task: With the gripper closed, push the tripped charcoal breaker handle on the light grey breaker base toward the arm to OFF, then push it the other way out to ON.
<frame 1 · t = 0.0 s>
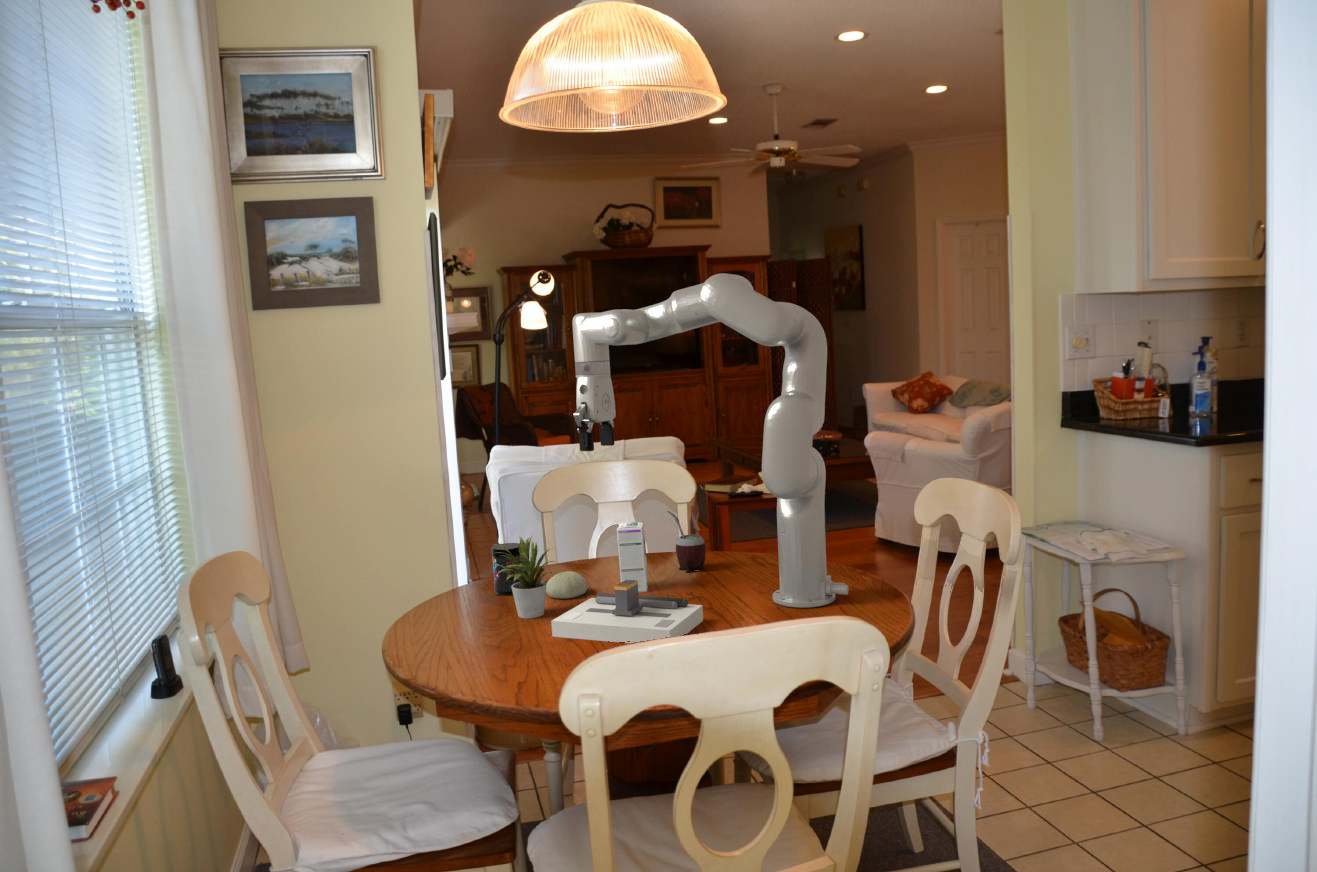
hand: (597, 448, 204), 31 cm above the table, tool pointing down, fingers open, 9 cm apart
syrup box: (634, 590, 204), on the table
breaker base: (628, 628, 176), on the table
mate gourd: (690, 571, 218), on the table
house plant: (526, 614, 190), on the table
breaker handle: (626, 597, 175), point 6 cm above the table, slide at 0.0 cm
sea urchin shell: (567, 595, 203), on the table
supplement container: (510, 592, 208), on the table
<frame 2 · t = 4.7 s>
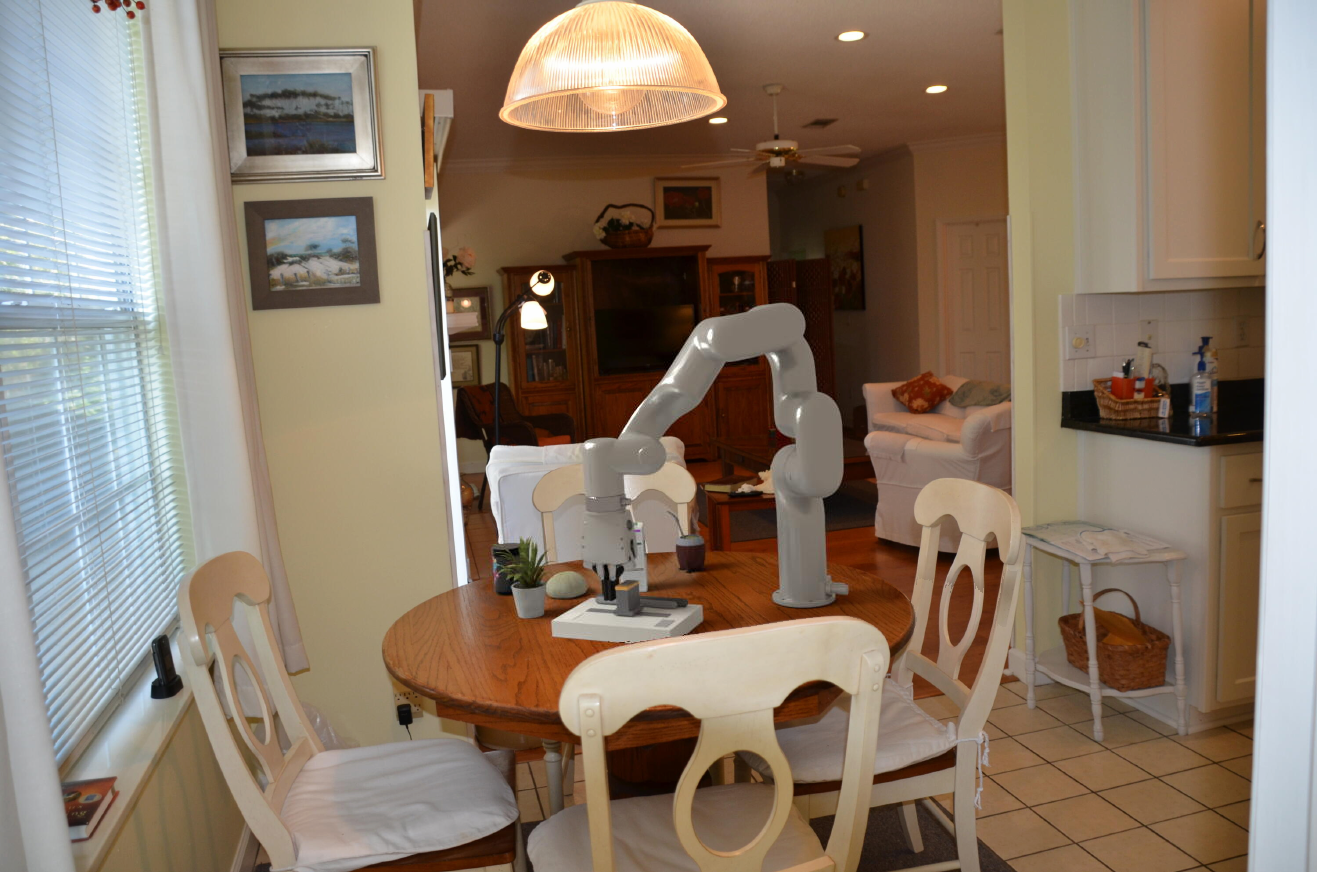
hand: (611, 598, 177), 5 cm above the table, tool pointing down, fingers closed
breaker handle: (628, 597, 175), point 6 cm above the table, slide at -0.2 cm, touching gripper
everything else where it was.
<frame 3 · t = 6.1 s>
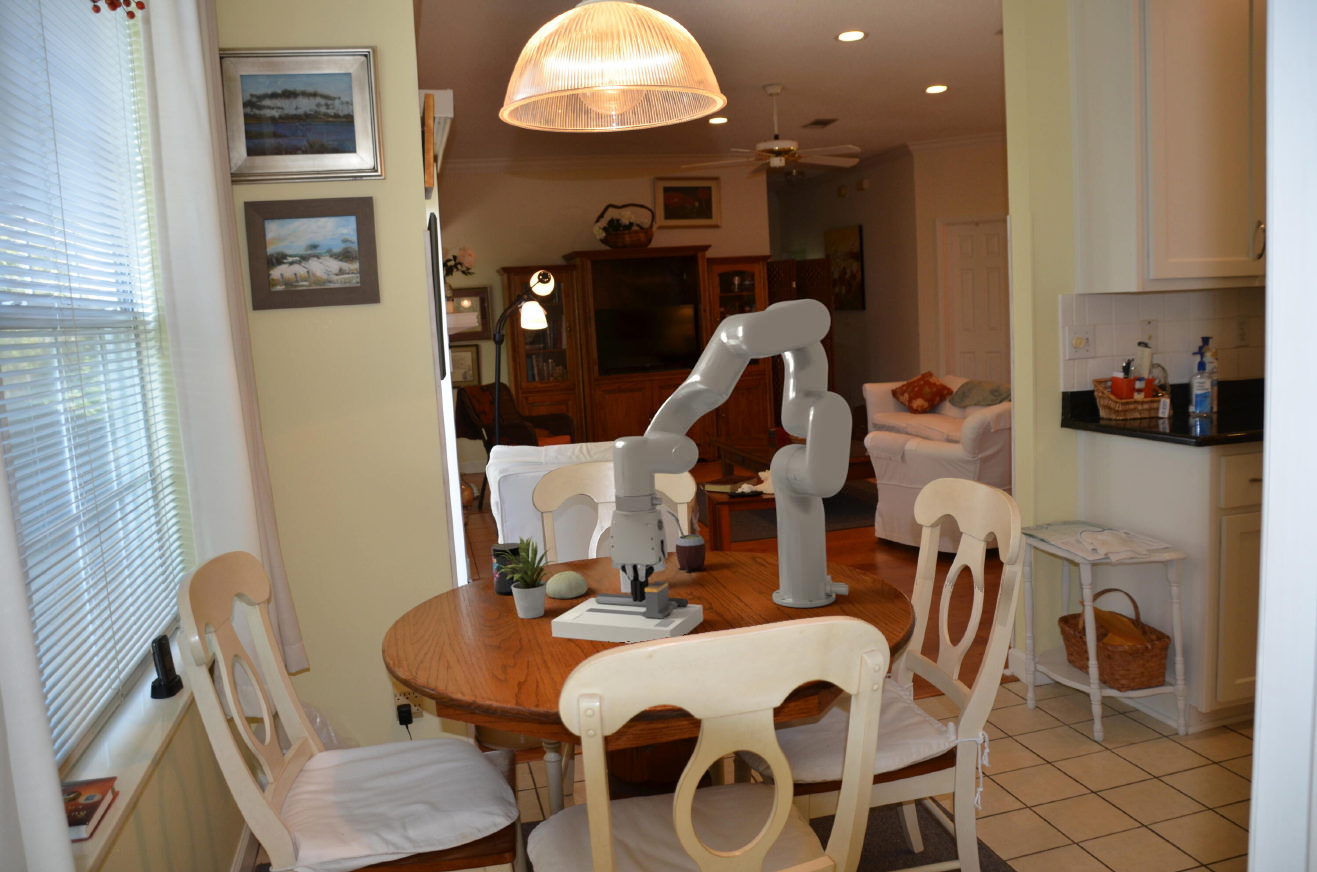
hand: (640, 599, 174), 6 cm above the table, tool pointing down, fingers closed
breaker handle: (657, 599, 173), point 6 cm above the table, slide at -6.3 cm, touching gripper
everything else where it was.
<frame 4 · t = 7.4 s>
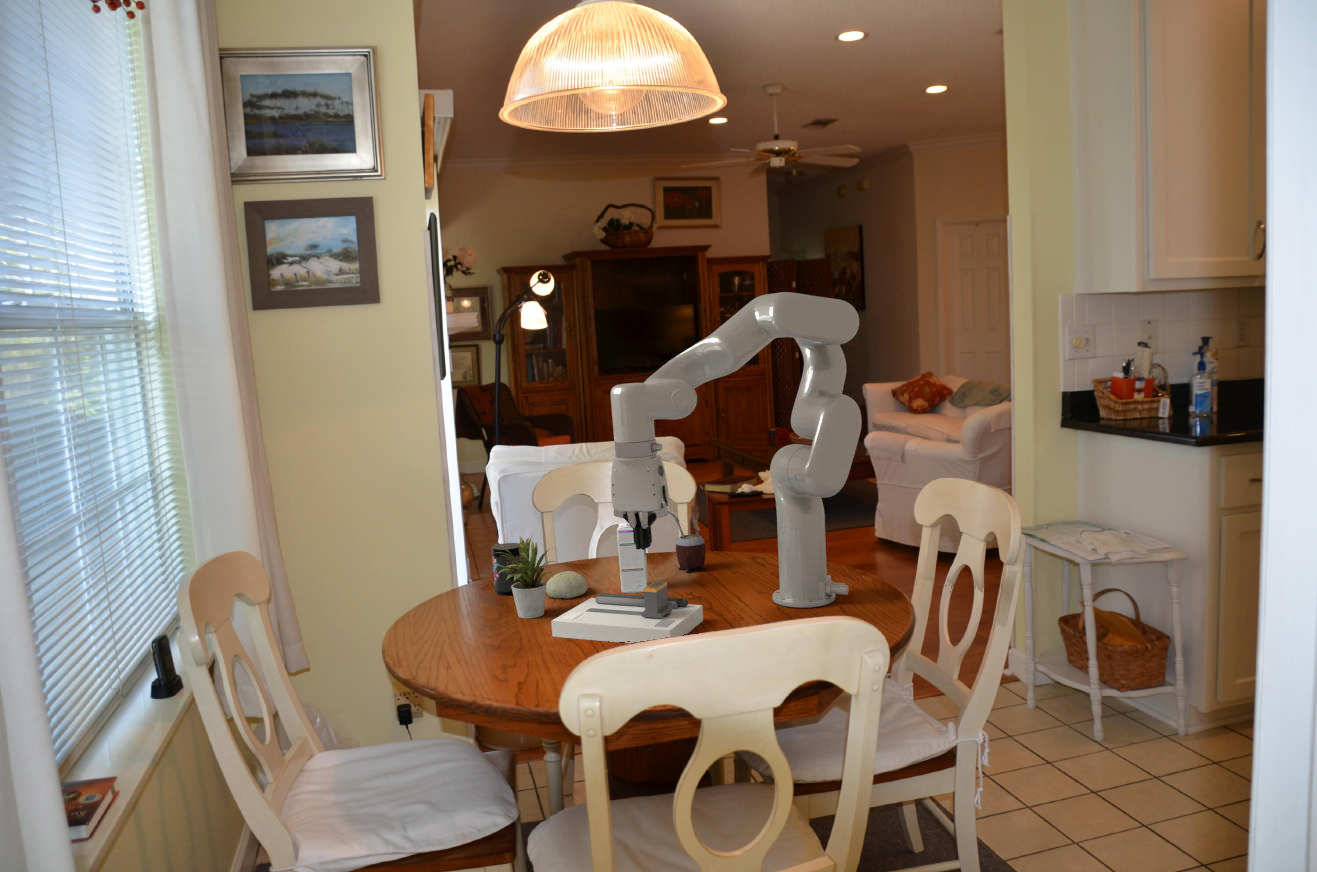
hand: (643, 547, 173), 16 cm above the table, tool pointing down, fingers closed
breaker handle: (656, 599, 173), point 6 cm above the table, slide at -6.0 cm
everything else where it was.
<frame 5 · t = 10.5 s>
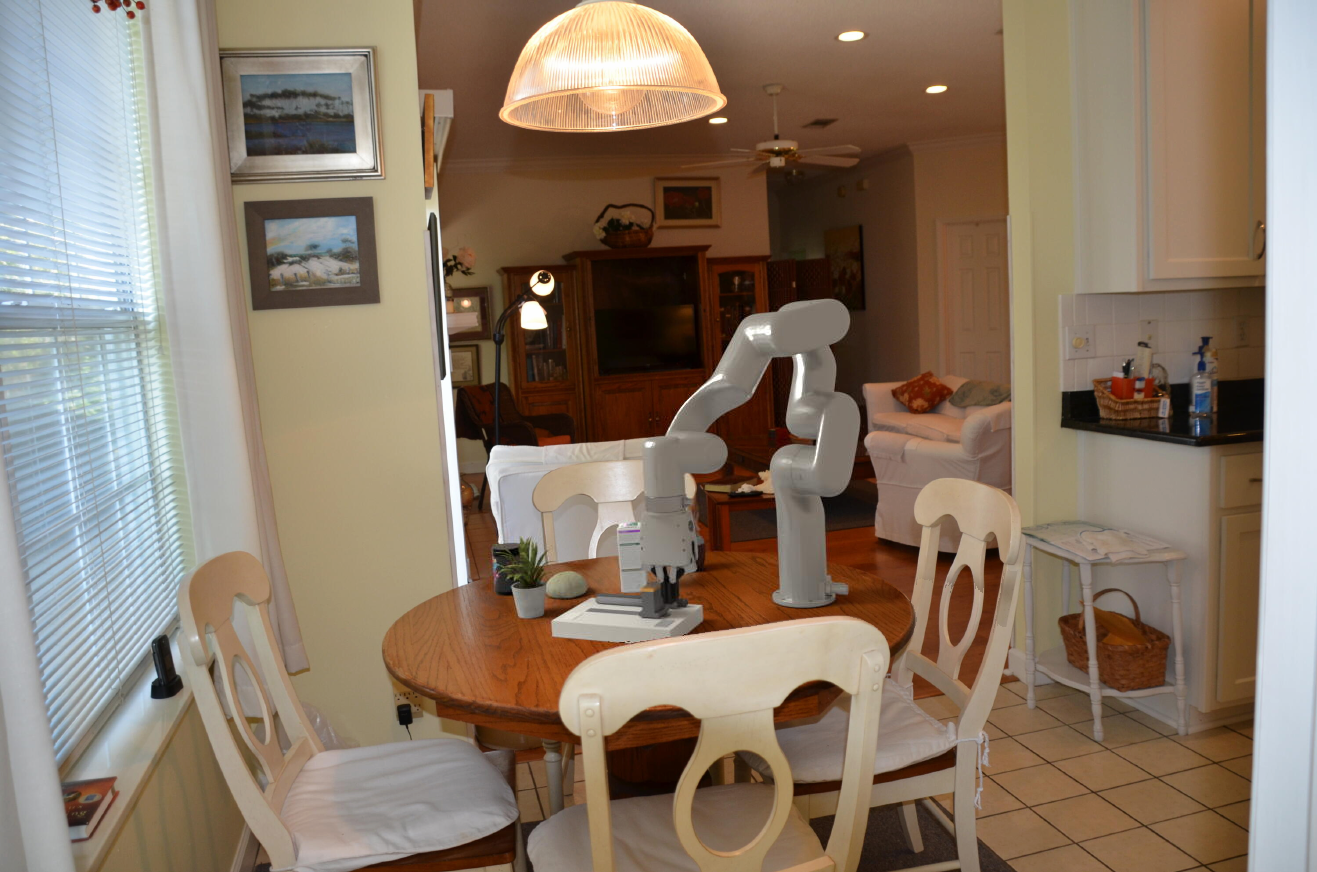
hand: (670, 602, 172), 6 cm above the table, tool pointing down, fingers closed
breaker handle: (653, 599, 173), point 6 cm above the table, slide at -5.5 cm, touching gripper
everything else where it was.
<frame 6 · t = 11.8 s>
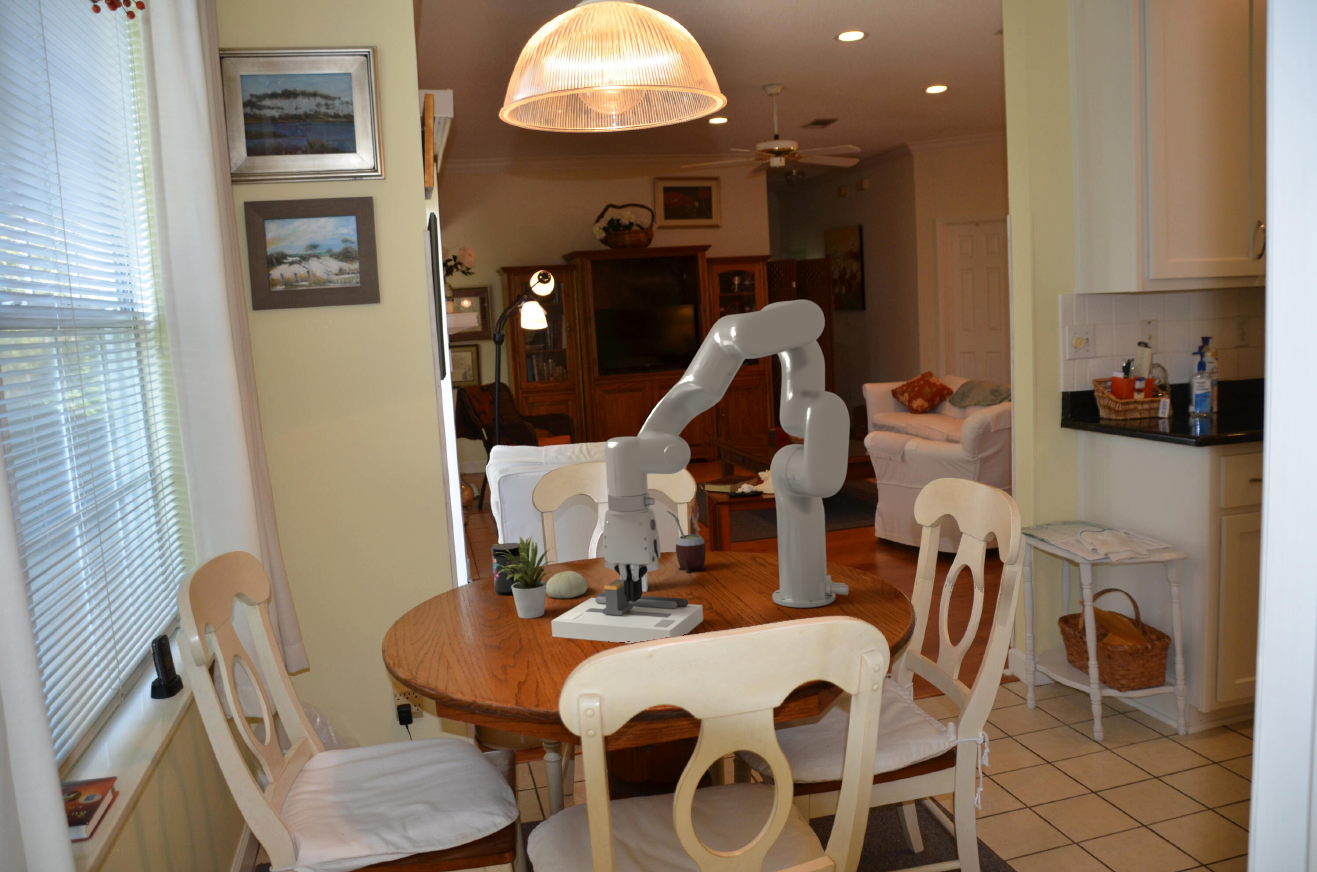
hand: (633, 599, 175), 6 cm above the table, tool pointing down, fingers closed
breaker handle: (617, 596, 176), point 6 cm above the table, slide at 2.1 cm, touching gripper
everything else where it was.
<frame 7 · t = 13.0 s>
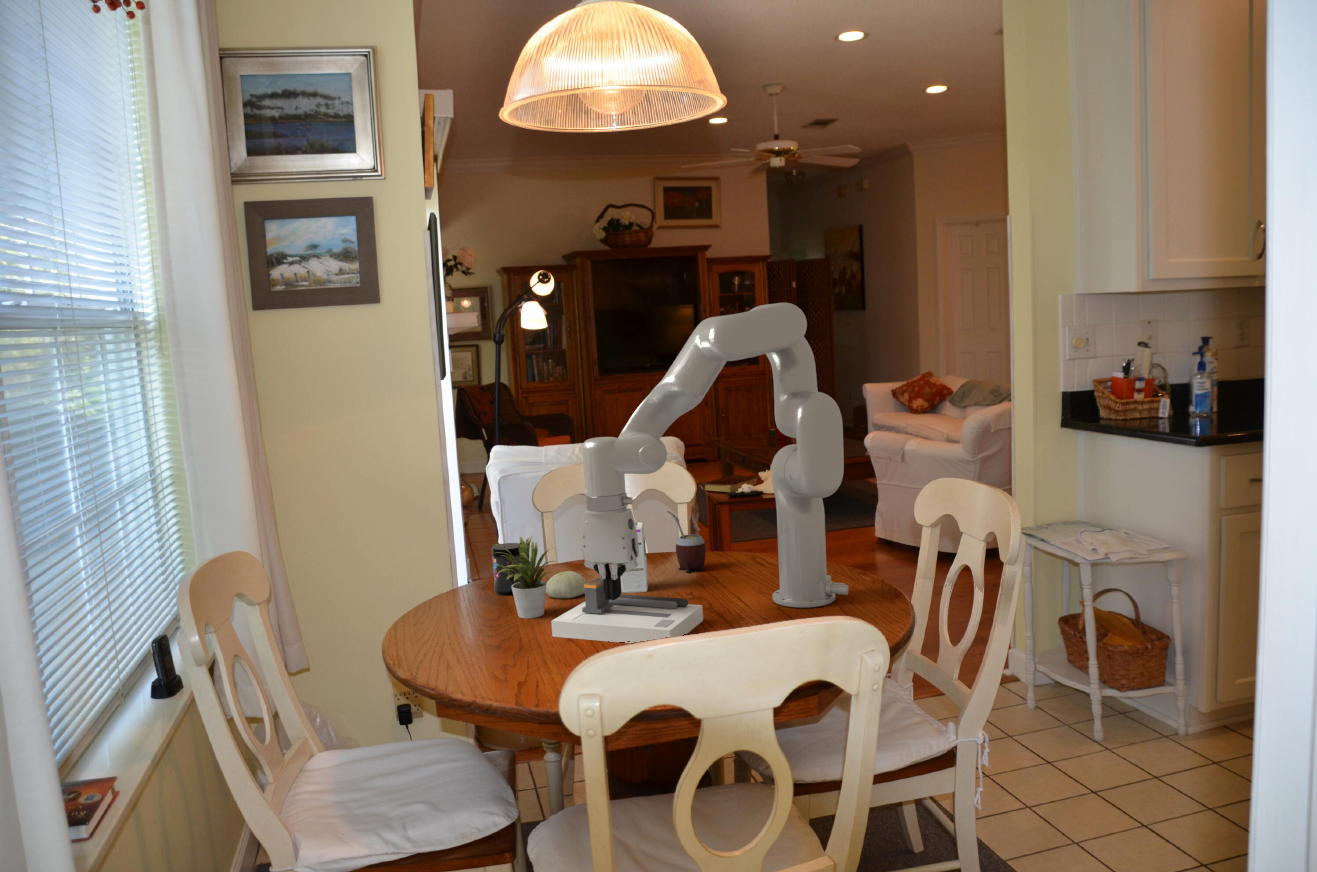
hand: (613, 598, 177), 6 cm above the table, tool pointing down, fingers closed
breaker handle: (596, 595, 178), point 6 cm above the table, slide at 6.4 cm, touching gripper
everything else where it was.
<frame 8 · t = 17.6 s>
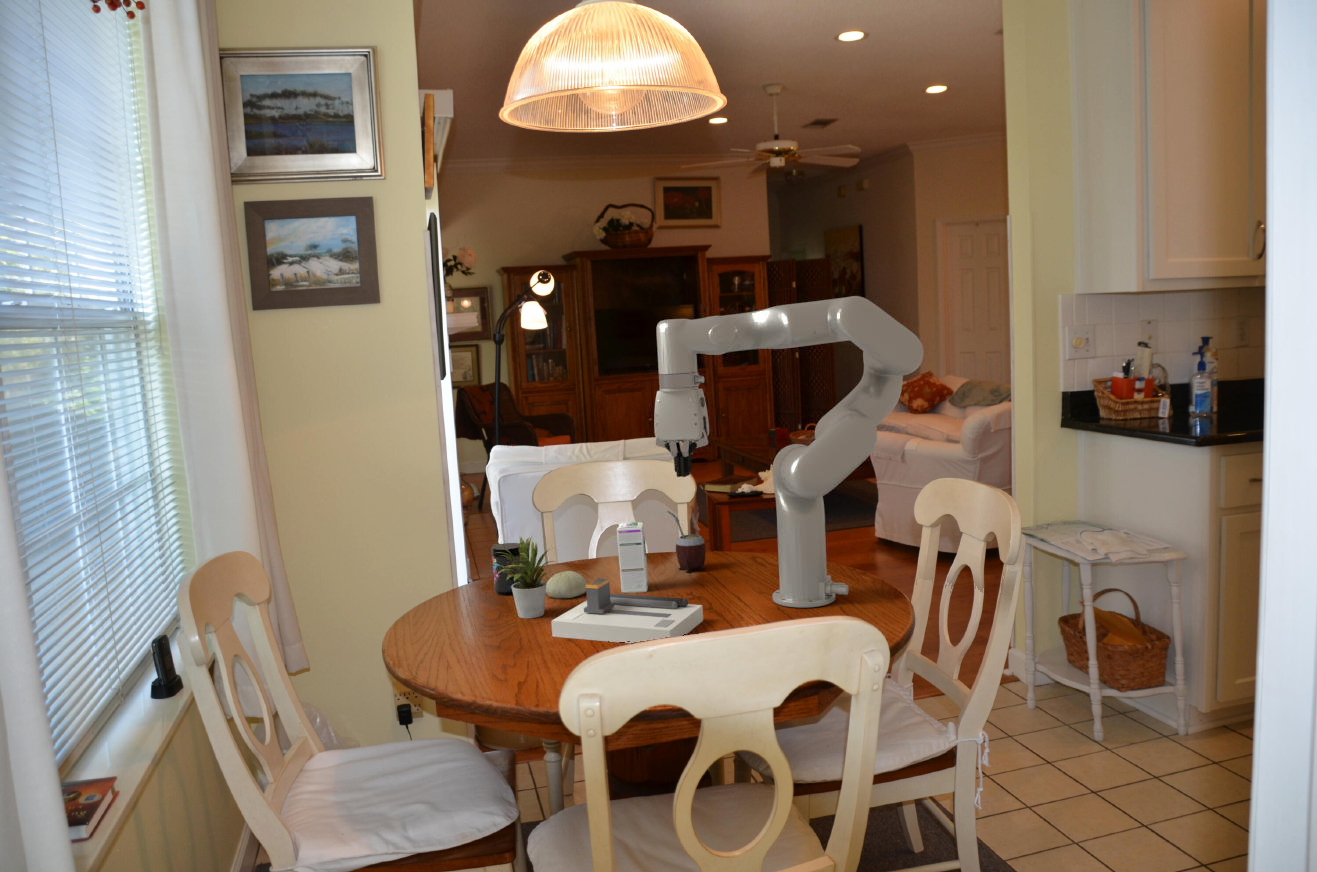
hand: (683, 475, 183), 27 cm above the table, tool pointing down, fingers closed
breaker handle: (598, 595, 178), point 6 cm above the table, slide at 6.0 cm
everything else where it was.
at the end: breaker handle slide at 6.0 cm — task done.
